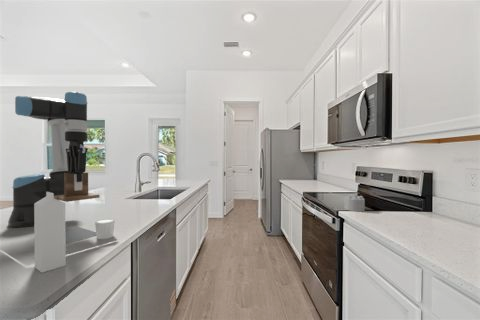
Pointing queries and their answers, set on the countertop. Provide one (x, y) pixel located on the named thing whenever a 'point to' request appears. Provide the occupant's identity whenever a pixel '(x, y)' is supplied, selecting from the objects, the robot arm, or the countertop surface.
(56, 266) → the milk
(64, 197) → the board
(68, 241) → the mat
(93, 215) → the countertop surface
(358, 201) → the lumpy-topped squat cylinder
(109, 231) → the white grey-rimmed cup
